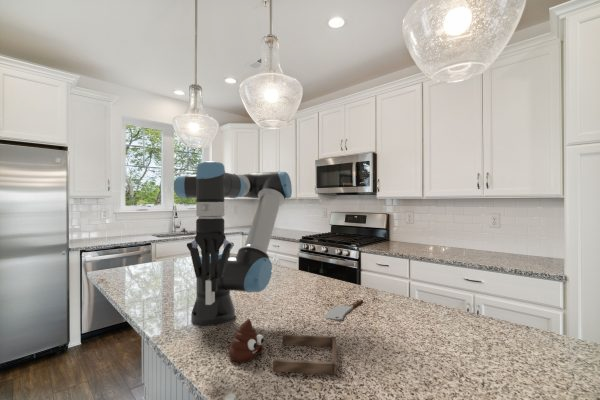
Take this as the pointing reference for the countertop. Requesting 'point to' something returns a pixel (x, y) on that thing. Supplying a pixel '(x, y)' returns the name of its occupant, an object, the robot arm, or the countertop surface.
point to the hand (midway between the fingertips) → (210, 303)
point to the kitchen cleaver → (341, 311)
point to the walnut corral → (308, 366)
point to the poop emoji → (246, 343)
